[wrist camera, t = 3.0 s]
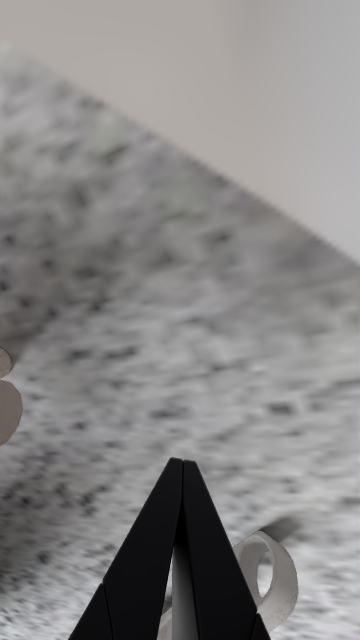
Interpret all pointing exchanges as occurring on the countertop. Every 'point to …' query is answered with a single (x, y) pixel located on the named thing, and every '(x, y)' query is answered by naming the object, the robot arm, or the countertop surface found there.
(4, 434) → the pipe connector
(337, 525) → the countertop surface
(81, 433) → the countertop surface
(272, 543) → the wrench
